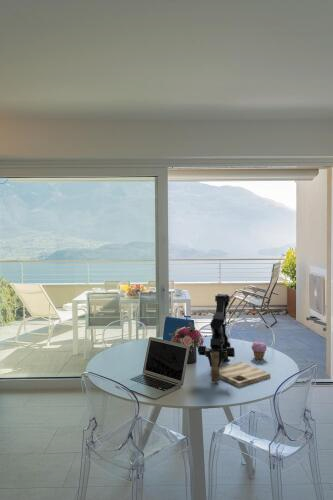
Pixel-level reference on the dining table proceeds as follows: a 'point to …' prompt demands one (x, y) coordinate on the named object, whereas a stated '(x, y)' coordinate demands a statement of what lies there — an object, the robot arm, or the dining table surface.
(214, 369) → the stool leg
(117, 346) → the dining table surface
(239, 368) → the stool top
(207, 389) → the dining table surface
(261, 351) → the cupcake
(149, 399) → the dining table surface
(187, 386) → the dining table surface
